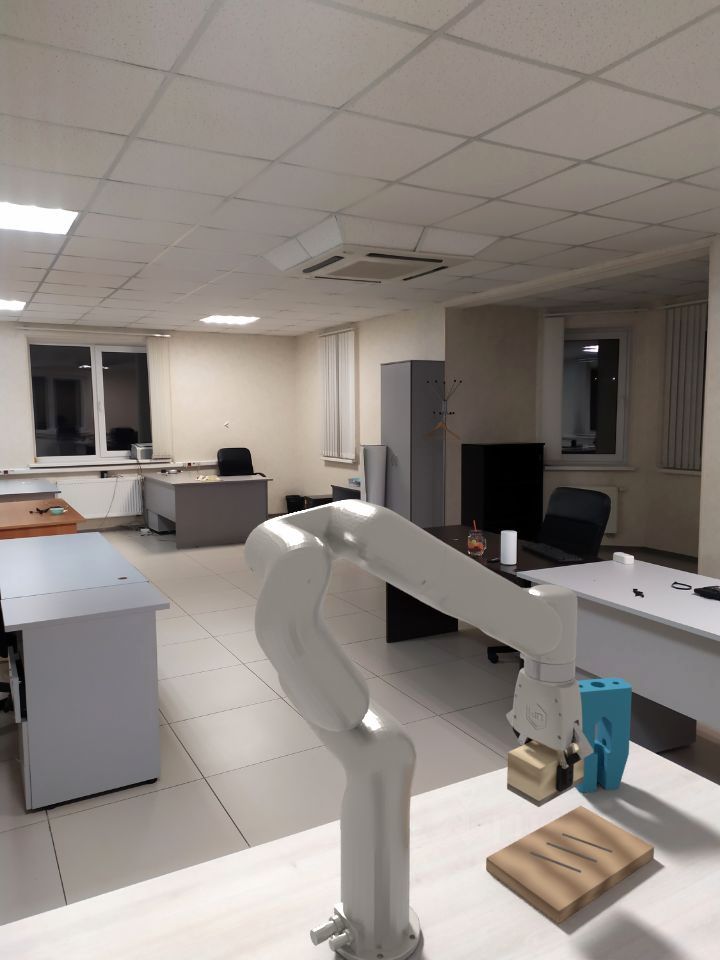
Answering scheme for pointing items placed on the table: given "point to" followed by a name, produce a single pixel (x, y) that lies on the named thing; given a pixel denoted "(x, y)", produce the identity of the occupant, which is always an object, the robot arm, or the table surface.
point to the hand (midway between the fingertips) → (545, 777)
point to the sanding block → (538, 772)
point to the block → (605, 731)
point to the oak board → (569, 862)
